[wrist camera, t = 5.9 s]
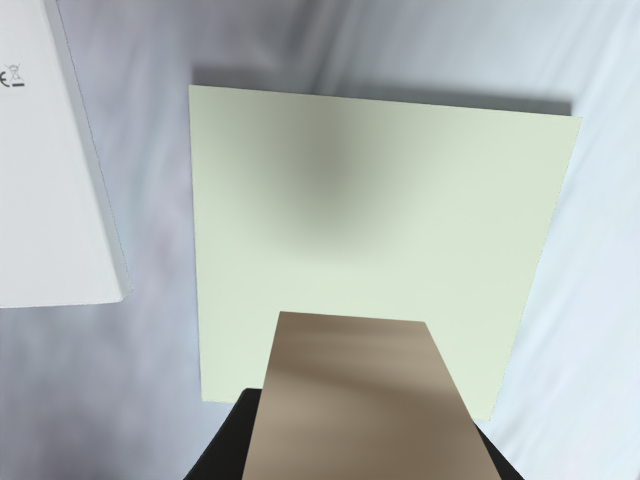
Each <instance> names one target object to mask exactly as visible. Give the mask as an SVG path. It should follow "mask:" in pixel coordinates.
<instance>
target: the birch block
mask: <svg viewBox="0 0 640 480" xmlns="http://www.w3.org/2000/svg"><path fill="white" fill-rule="evenodd" d="M242 480H501V478H500V476H499V474H498V472H497V470H496V468H495V466H494V463H493V461H492V459H491V457H490V455H489V453H488V451H487V449H486V447H485V445H484V443H483V441H482V439H481V437H480V435H479V433H478V430H477V428H476V426H475V424H474V422H473V420H472V418H471V416H470V414H469V412H468V410H467V408H466V406H465V404H464V402H463V400H462V398H461V395H460V393H459V391H458V389H457V387H456V385H455V383H454V381H453V379H452V377H451V375H450V373H449V371H448V369H447V367H446V365H445V362H444V360H443V358H442V356H441V354H440V352H439V350H438V348H437V346H436V344H435V342H434V340H433V338H432V336H431V334H430V332H429V330H428V327H427V325H426V323H425V322H422V321H408V320H394V319H381V318H367V317H354V316H340V315H326V314H313V313H299V312H286V311H280V312H279V317H278V321H277V326H276V330H275V335H274V339H273V344H272V348H271V352H270V357H269V361H268V366H267V370H266V375H265V379H264V384H263V388H262V393H261V397H260V402H259V406H258V410H257V415H256V419H255V424H254V428H253V433H252V437H251V442H250V446H249V451H248V455H247V459H246V464H245V468H244V473H243V477H242Z"/></svg>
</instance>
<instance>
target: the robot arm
mask: <svg viewBox="0 0 640 480" xmlns="http://www.w3.org/2000/svg"><path fill="white" fill-rule="evenodd" d="M261 393H262V389H258V388H246V389H244V390H243V391H242V392H241V394H240V396H239V398H238V400H237V402H236V403H235V405H234V407H233V409H232V410H231V412H230V413H229V415H228V417H227V418H226V420H225V421H224V423H223V424H222V426H221V428H220V429H219V431H218V432H217V434H216V435H215V437H214V438H213V439H212V441H211V442H210V444H209V445H208V447H207V448H206V449H205V451H204V452H203V454H202V455H201V456H200V458H199V459H198V461H197V462H196V464H195V465H194V466H193V468H192V469H191V470H190V472H189V473H188V474H187V475H186V477H185V478H184V479H183V480H242V477H243V473H244V468H245V464H246V459H247V455H248V451H249V446H250V442H251V437H252V433H253V428H254V424H255V419H256V415H257V410H258V406H259V402H260V397H261ZM474 424H475V423H474ZM475 426H476V428H477V430H478V433H479V435H480V437H481V439H482V441H483V443H484V445H485V447H486V449H487V451H488V453H489V455H490V457H491V459H492V461H493V463H494V466H495V468H496V470H497V472H498V474H499V476H500V478H501V480H524V479H523V477H522V476H521V475H520V474H519V473H518V472H517V471H516V470H515V469H514V468H513V466H512V465H511V464H510V463H509V462H508V461H507V460H506V459H505V457H504V456H503V455H502V454H501V453H500V452H499V451H498V449H497V448H496V447H495V446H494V445H493V444H492V443H491V441H490V440H489V439H488V438H487V437H486V436H485V435H484V433H483V432H482V431H481V430H480V429H479V428H478V426H477V425H476V424H475Z"/></svg>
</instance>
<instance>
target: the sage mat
mask: <svg viewBox="0 0 640 480" xmlns="http://www.w3.org/2000/svg"><path fill="white" fill-rule="evenodd" d="M188 87H189V111H190V135H191V158H192V182H193V205H194V229H195V253H196V276H197V300H198V324H199V347H200V371H201V394H202V401H211V402H225V403H236V402H237V400H238V398H239V396H240V394H241V392H242V391H243V390H244V389H246V388H258V389H262V388H263V384H264V379H265V375H266V370H267V366H268V361H269V357H270V352H271V348H272V344H273V339H274V335H275V330H276V326H277V321H278V317H279V312H280V311H286V312H299V313H313V314H326V315H340V316H354V317H367V318H381V319H394V320H408V321H422V322H425V323H426V325H427V327H428V330H429V332H430V334H431V336H432V338H433V340H434V342H435V344H436V346H437V348H438V350H439V352H440V354H441V356H442V358H443V360H444V362H445V365H446V367H447V369H448V371H449V373H450V375H451V377H452V379H453V381H454V383H455V385H456V387H457V389H458V391H459V393H460V395H461V398H462V400H463V402H464V404H465V406H466V408H467V410H468V412H469V414H470V416H471V418H472V419H474V420H489V421H490V419H491V416H492V413H493V409H494V406H495V403H496V400H497V396H498V393H499V390H500V387H501V383H502V380H503V377H504V373H505V370H506V367H507V364H508V360H509V357H510V354H511V351H512V347H513V344H514V341H515V338H516V334H517V331H518V328H519V324H520V321H521V318H522V315H523V311H524V308H525V305H526V302H527V298H528V295H529V292H530V289H531V285H532V282H533V279H534V275H535V272H536V269H537V266H538V262H539V259H540V256H541V253H542V249H543V246H544V243H545V240H546V236H547V233H548V230H549V226H550V223H551V220H552V217H553V213H554V210H555V207H556V204H557V200H558V197H559V194H560V191H561V187H562V184H563V181H564V177H565V174H566V171H567V168H568V164H569V161H570V158H571V155H572V151H573V148H574V145H575V142H576V138H577V135H578V132H579V128H580V125H581V122H582V119H583V117H574V116H562V115H549V114H537V113H525V112H513V111H501V110H489V109H477V108H465V107H453V106H441V105H429V104H417V103H405V102H393V101H381V100H369V99H356V98H344V97H332V96H320V95H308V94H296V93H284V92H272V91H260V90H248V89H236V88H224V87H212V86H200V85H188Z"/></svg>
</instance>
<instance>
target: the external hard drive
mask: <svg viewBox="0 0 640 480" xmlns="http://www.w3.org/2000/svg"><path fill="white" fill-rule="evenodd" d="M132 291H133V289H132V286H131V282H130V278H129V274H128V271H127V267H126V263H125V259H124V255H123V251H122V248H121V244H120V240H119V237H118V233H117V229H116V225H115V221H114V218H113V214H112V210H111V206H110V202H109V199H108V195H107V191H106V187H105V183H104V179H103V175H102V172H101V169H100V164H99V161H98V157H97V153H96V149H95V145H94V141H93V137H92V134H91V130H90V126H89V122H88V118H87V114H86V111H85V107H84V103H83V99H82V96H81V92H80V88H79V84H78V80H77V76H76V73H75V69H74V65H73V61H72V57H71V54H70V50H69V46H68V42H67V38H66V35H65V31H64V27H63V23H62V19H61V15H60V12H59V8H58V4H57V1H56V0H0V308H20V307H36V306H38V307H44V306H61V305H84V304H87V305H89V304H103V303H114V302H120V301H122V300H123V299H124V298H125V297H127V296H128V295H129V294H130V293H132Z"/></svg>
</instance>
